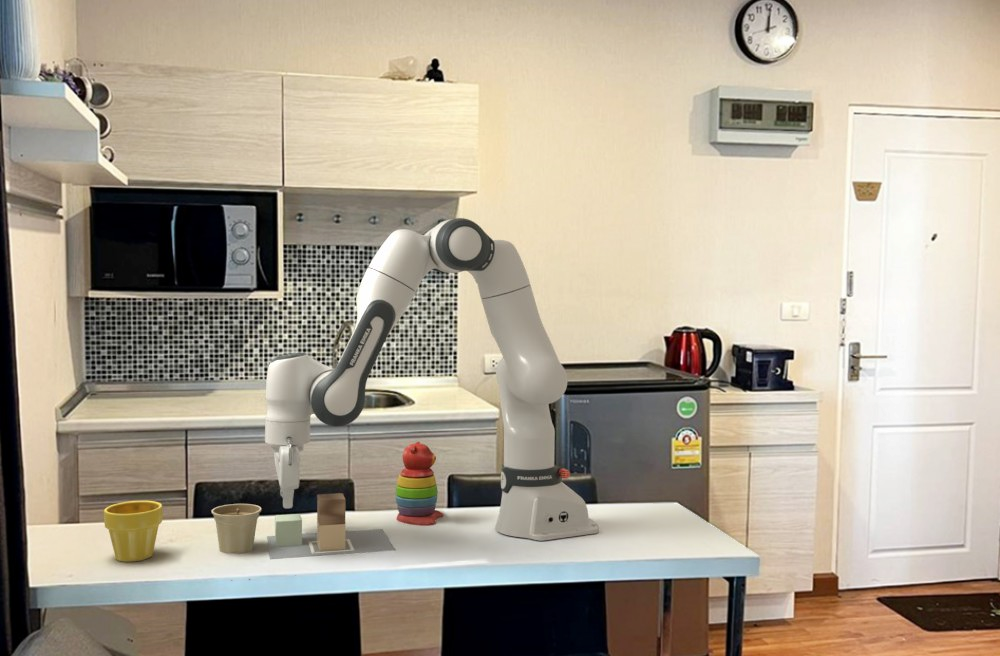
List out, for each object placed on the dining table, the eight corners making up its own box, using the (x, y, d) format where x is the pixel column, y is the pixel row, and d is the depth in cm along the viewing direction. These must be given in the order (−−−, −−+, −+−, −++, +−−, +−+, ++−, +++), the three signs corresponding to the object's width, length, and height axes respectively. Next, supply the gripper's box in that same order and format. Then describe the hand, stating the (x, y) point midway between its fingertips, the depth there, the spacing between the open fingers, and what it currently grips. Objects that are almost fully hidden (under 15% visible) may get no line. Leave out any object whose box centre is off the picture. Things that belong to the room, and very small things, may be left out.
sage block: (300, 538, 182) (300, 514, 182) (301, 544, 177) (302, 520, 177) (275, 539, 180) (275, 515, 180) (276, 546, 176) (276, 521, 175)
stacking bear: (433, 530, 192) (433, 448, 192) (388, 527, 194) (389, 446, 194) (446, 517, 203) (446, 440, 202) (403, 514, 205) (404, 438, 204)
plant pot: (103, 567, 164) (103, 515, 163) (105, 552, 173) (104, 502, 173) (163, 561, 168) (163, 510, 167) (161, 547, 177) (161, 498, 177)
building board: (382, 532, 190) (382, 505, 190) (395, 553, 175) (395, 524, 174) (267, 540, 183) (267, 512, 183) (269, 563, 168) (270, 532, 167)
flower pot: (269, 547, 178) (269, 505, 177) (248, 561, 169) (247, 516, 168) (226, 544, 180) (226, 502, 179) (202, 558, 170) (202, 513, 170)
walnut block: (342, 517, 179) (342, 493, 179) (345, 523, 174) (345, 498, 174) (317, 519, 178) (317, 494, 178) (319, 525, 173) (319, 500, 173)
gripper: (307, 442, 169) (306, 513, 169) (300, 425, 188) (298, 490, 189) (273, 442, 167) (272, 515, 167) (269, 426, 187) (268, 491, 187)
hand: (286, 501), depth 178 cm, fingers open, 8 cm apart
